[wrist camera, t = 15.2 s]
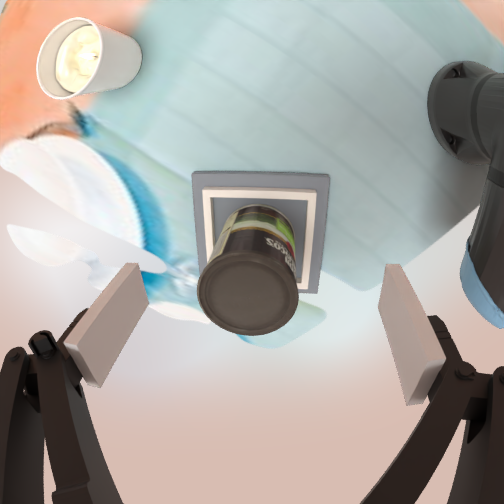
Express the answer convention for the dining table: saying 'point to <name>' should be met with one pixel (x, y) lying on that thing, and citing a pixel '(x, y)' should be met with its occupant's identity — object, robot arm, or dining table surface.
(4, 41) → the dining table surface
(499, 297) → the robot arm
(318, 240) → the grey square tray
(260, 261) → the coffee can
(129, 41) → the candle holder
